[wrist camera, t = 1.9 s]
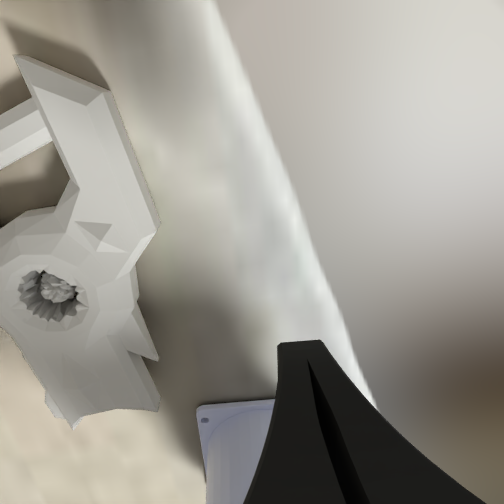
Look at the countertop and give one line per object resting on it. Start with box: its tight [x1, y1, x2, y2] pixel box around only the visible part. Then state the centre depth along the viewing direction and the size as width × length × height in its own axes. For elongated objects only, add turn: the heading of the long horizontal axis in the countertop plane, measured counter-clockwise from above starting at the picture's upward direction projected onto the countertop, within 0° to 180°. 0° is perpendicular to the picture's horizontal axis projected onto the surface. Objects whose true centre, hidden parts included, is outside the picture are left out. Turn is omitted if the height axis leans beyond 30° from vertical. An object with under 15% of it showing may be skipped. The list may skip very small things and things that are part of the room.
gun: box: [0, 55, 161, 430], centre depth 18 cm, size 18×3×10 cm
